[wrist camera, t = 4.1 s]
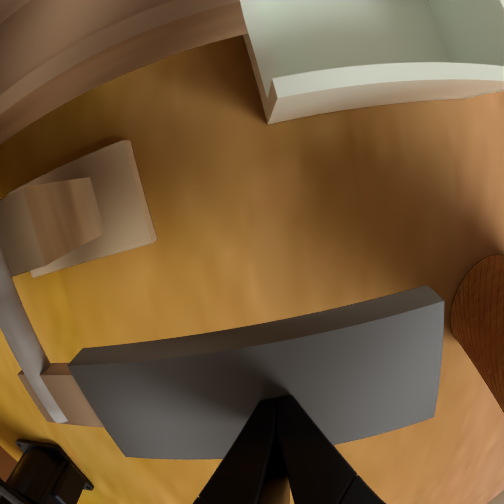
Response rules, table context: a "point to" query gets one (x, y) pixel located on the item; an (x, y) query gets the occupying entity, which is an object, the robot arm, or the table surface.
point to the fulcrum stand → (76, 213)
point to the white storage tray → (371, 52)
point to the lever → (214, 343)
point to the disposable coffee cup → (483, 321)
